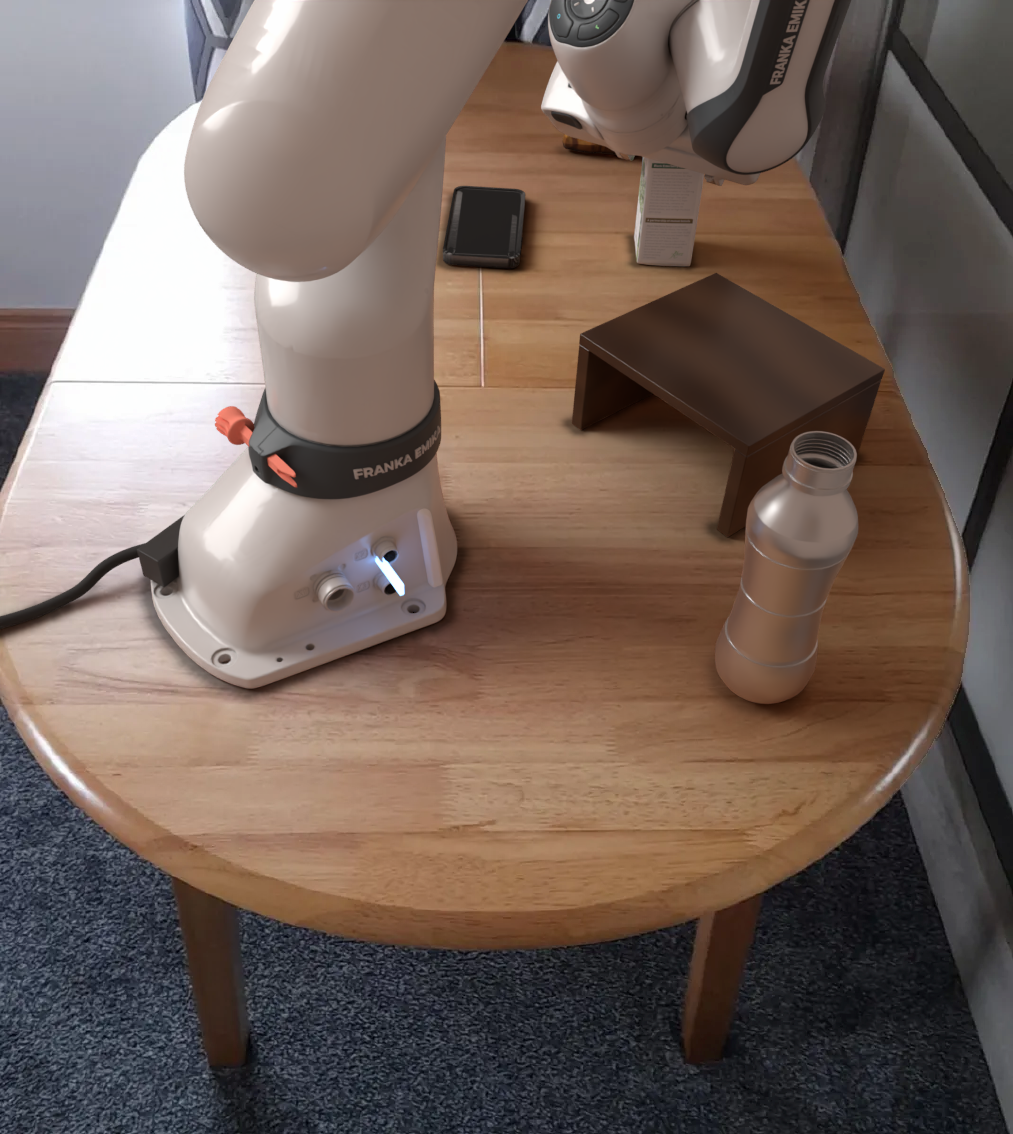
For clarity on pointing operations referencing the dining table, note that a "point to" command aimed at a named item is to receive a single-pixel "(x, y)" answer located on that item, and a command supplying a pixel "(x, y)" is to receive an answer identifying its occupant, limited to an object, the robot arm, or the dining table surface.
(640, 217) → the syrup box
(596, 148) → the croissant
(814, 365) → the shelf
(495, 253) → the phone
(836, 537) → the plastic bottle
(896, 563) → the dining table surface
